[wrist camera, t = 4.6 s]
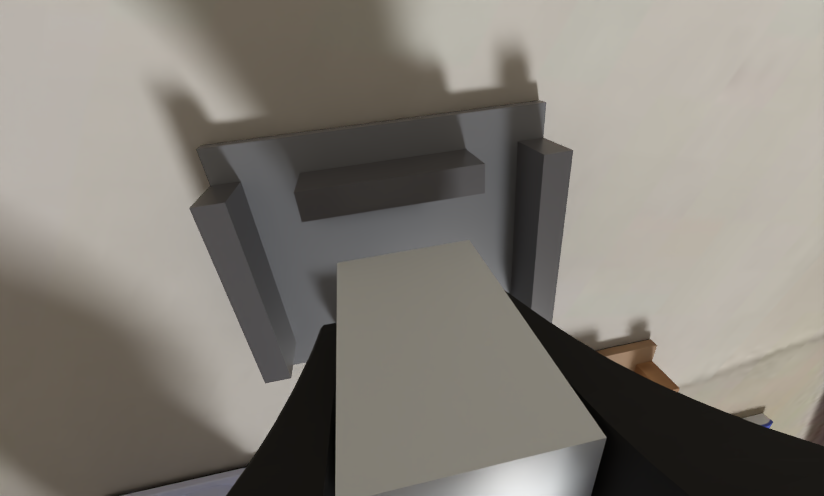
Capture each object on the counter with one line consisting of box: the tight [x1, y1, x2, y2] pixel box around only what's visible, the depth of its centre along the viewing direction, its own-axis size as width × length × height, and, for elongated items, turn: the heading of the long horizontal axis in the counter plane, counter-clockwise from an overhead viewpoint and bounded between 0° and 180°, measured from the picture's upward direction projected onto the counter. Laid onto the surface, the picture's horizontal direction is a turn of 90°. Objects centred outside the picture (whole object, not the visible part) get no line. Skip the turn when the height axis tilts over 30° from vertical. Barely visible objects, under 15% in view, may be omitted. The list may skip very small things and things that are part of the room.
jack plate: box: [190, 101, 573, 383], centre depth 14 cm, size 12×10×2 cm
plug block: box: [335, 240, 607, 496], centre depth 9 cm, size 4×4×6 cm
